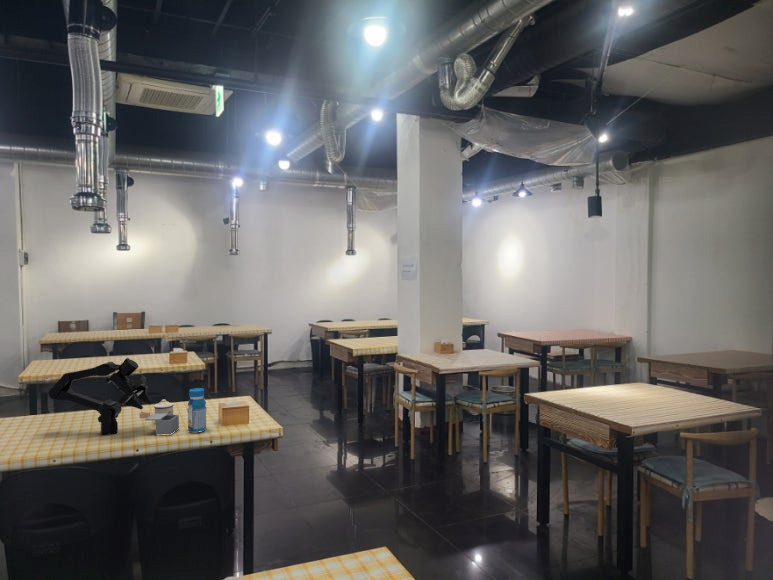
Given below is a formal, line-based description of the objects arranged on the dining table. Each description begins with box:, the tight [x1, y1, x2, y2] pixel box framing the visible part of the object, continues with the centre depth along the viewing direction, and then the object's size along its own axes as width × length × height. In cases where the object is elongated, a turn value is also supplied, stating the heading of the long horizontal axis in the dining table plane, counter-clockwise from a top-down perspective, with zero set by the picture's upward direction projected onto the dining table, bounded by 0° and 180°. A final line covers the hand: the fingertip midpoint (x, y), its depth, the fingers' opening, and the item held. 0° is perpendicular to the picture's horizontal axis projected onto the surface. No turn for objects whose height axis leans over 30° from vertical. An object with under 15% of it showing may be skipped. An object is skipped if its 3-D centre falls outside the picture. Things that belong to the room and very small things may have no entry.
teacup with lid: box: [153, 399, 174, 425], centre depth 264 cm, size 12×9×12 cm
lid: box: [139, 411, 168, 422], centre depth 246 cm, size 11×10×2 cm
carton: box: [155, 414, 180, 435], centre depth 246 cm, size 7×10×7 cm
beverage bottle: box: [187, 387, 207, 433], centre depth 248 cm, size 8×8×20 cm
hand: (146, 406), depth 246 cm, fingers open, 9 cm apart
